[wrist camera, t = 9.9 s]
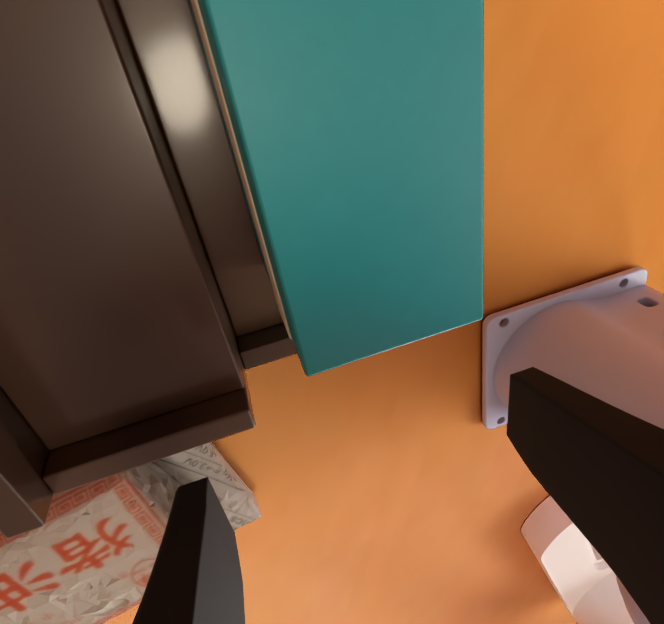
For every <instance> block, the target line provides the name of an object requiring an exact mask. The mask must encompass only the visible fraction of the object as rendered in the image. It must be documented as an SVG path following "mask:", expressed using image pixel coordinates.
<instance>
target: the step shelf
mask: <svg viewBox="0 0 664 624" xmlns="http://www.w3.org/2000/svg"><path fill="white" fill-rule="evenodd" d="M296 353H297V351H296V348H295V346H294V343H293V340H292V339H290V338H289V336H288V333H287V330H286V328H285V325H284V322H283V320H282V317H281V314H280V312H279V309H278V305H277V302H276V298H275V294H274V291H273V288H272V285H271V283H270V280H269V277H268V275H267V272H266V270H265V267H264V264H263V261H262V257H261V254H260V250H259V247H258V243H257V240H256V237H255V233H254V230H253V226H252V223H251V219H250V216H249V212H248V209H247V205H246V202H245V198H244V195H243V192H242V188H241V185H240V181H239V178H238V174H237V171H236V167H235V164H234V160H233V157H232V153H231V150H230V146H229V143H228V140H227V136H226V133H225V129H224V126H223V122H222V119H221V115H220V112H219V108H218V105H217V101H216V98H215V95H214V91H213V88H212V84H211V81H210V77H209V74H208V70H207V67H206V63H205V60H204V56H203V53H202V49H201V46H200V43H199V39H198V36H197V32H196V29H195V25H194V22H193V18H192V15H191V11H190V8H189V4H188V1H187V0H0V531H1V532H2V533H3V534H4V535H5V536H6V537H7V538H11V537H14V536H16V535H19V534H22V533H25V532H28V531H31V530H34V529H37V528H40V527H42V526H44V524H45V522H46V519H47V515H48V512H49V508H50V505H51V501H52V497H53V494H59V493H62V492H65V491H68V490H71V489H74V488H77V487H80V486H83V485H86V484H88V483H91V482H94V481H97V480H100V479H103V478H106V477H109V476H112V475H115V474H118V473H121V472H124V471H127V470H130V469H133V468H136V467H139V466H142V465H145V464H148V463H151V462H154V461H157V460H159V459H162V458H165V457H168V456H171V455H174V454H177V453H180V452H183V451H186V450H189V449H192V448H195V447H198V446H201V445H204V444H207V443H210V442H213V441H216V440H219V439H222V438H225V437H228V436H231V435H233V434H236V433H239V432H242V431H245V430H248V429H251V428H254V427H255V419H254V414H253V409H252V404H251V399H250V394H249V389H248V384H247V378H246V373H245V369H249V368H252V367H256V366H259V365H262V364H265V363H268V362H271V361H274V360H277V359H281V358H284V357H287V356H290V355H293V354H296Z"/></svg>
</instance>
